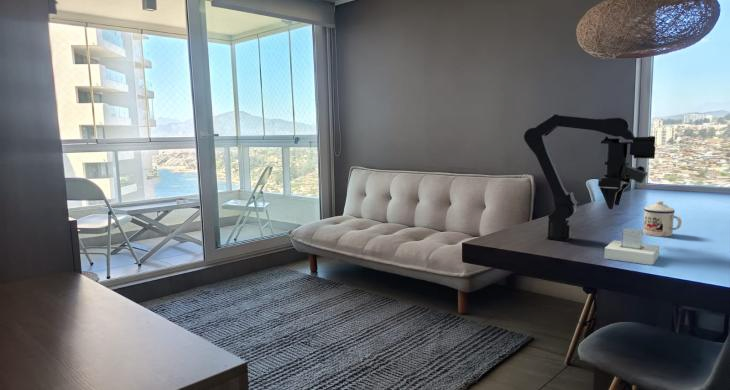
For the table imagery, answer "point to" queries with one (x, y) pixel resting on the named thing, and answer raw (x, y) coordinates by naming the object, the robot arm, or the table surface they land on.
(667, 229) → the teacup with lid
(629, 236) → the keyed peg
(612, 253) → the hub block
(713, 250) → the table surface
